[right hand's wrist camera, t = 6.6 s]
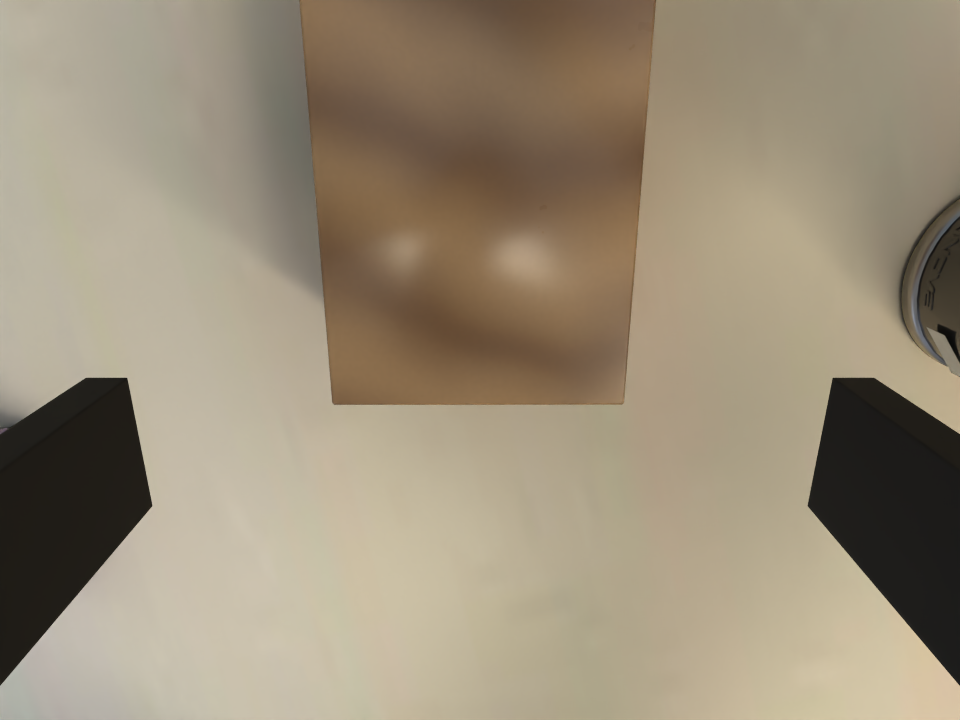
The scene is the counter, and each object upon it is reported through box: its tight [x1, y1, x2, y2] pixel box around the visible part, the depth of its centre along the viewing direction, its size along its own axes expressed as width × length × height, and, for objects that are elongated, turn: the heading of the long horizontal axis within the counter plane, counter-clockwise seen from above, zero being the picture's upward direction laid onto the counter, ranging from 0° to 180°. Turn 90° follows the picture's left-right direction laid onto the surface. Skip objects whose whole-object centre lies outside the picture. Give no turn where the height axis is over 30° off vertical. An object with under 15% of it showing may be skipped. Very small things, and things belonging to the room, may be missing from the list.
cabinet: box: [299, 0, 656, 405], centre depth 25 cm, size 19×11×9 cm, turn 0°
